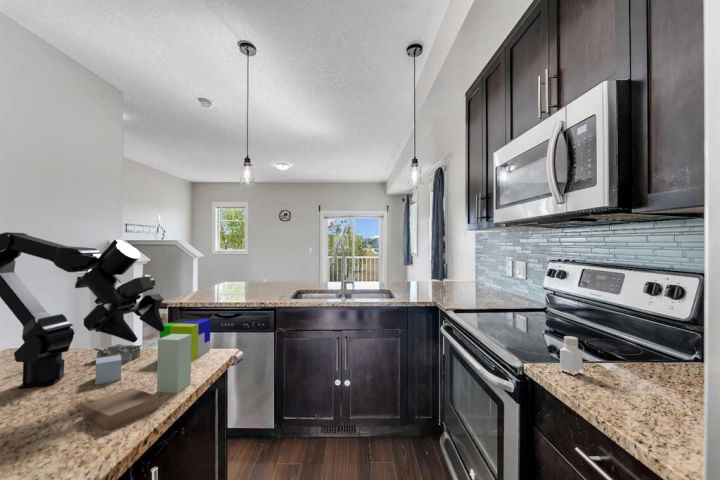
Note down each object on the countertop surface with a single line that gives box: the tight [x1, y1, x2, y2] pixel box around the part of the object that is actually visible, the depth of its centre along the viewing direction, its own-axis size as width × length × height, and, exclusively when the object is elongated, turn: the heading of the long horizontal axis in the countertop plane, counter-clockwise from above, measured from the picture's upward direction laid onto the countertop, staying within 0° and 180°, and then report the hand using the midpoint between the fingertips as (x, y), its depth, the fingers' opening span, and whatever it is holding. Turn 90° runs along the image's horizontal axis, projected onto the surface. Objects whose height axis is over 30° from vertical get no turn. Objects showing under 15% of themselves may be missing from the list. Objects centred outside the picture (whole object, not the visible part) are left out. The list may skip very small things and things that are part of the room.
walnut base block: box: [82, 387, 159, 431], centre depth 67 cm, size 9×9×3 cm
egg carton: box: [93, 343, 144, 364], centre depth 100 cm, size 11×8×4 cm
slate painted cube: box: [94, 355, 122, 385], centre depth 84 cm, size 5×5×5 cm
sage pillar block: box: [156, 334, 192, 394], centre depth 79 cm, size 5×5×12 cm
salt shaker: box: [559, 335, 583, 372], centre depth 91 cm, size 4×4×10 cm
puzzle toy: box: [159, 318, 211, 362], centre depth 103 cm, size 10×10×10 cm
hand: (150, 335), depth 80 cm, fingers open, 9 cm apart
